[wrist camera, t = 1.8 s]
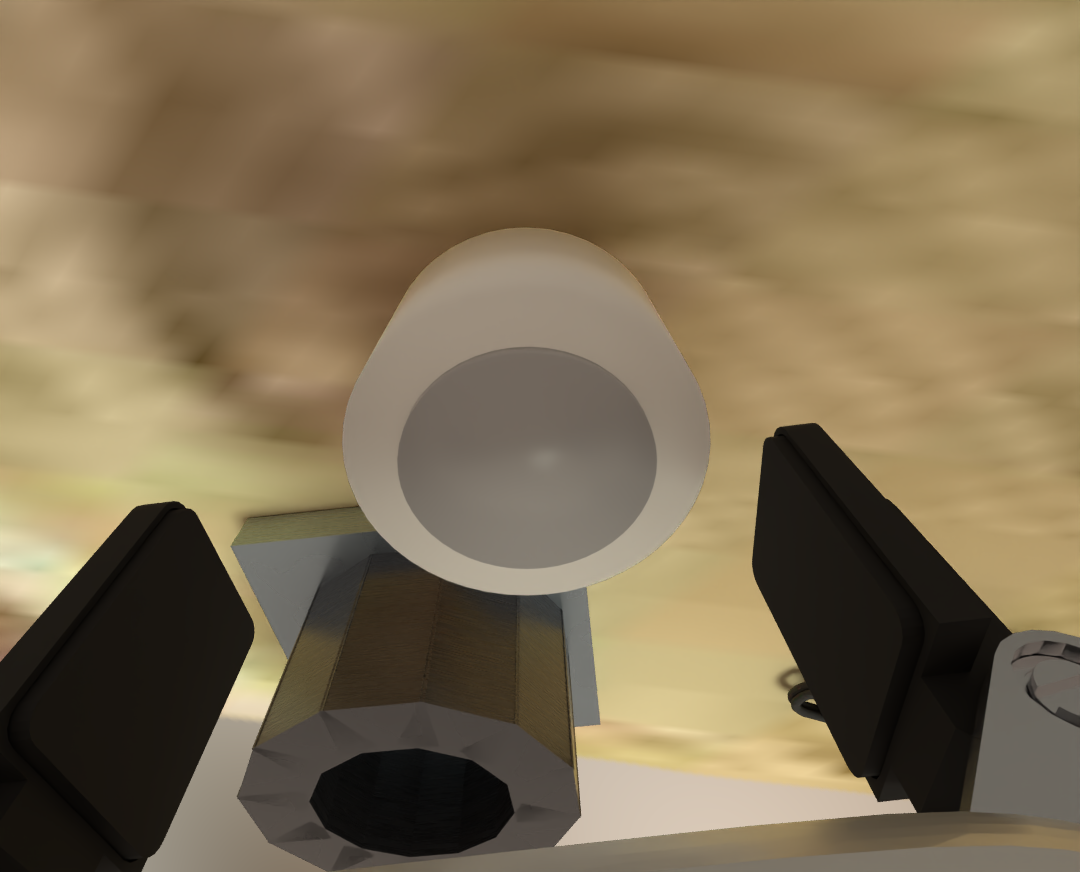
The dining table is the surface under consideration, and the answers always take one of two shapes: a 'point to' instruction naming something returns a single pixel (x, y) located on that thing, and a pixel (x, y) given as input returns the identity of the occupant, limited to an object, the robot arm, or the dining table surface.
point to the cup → (526, 418)
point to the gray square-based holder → (409, 702)
